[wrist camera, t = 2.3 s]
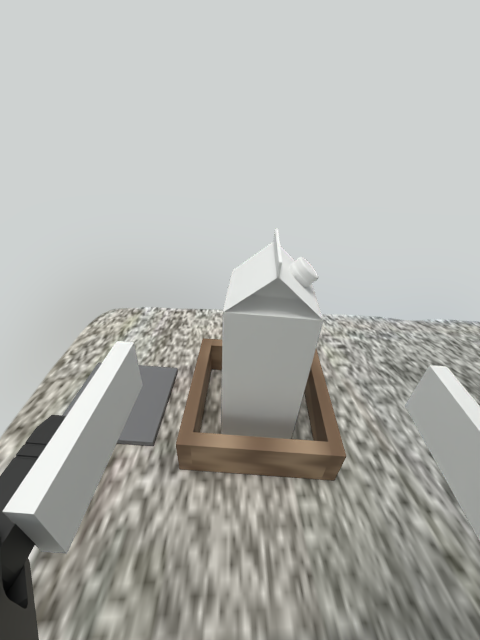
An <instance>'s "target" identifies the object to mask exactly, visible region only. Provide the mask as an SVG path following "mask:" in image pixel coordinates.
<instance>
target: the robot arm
mask: <svg viewBox="0 0 480 640" xmlns="http://www.w3.org/2000/svg"><path fill="white" fill-rule="evenodd" d="M142 386H143V385H142V380H141V375H140V370H139V365H138V360H137V355H136V350H135V345H134V343H133V342H120V341H117V342H116V343H115V345H114V346H113V348H112V349H111V351H110V352H109V354H108V355H107V356H106V358H105V359H104V361H103V362H102V364H101V365H100V367H99V368H98V370H97V371H96V373H95V374H94V376H93V377H92V379H91V380H90V382H89V383H88V385H87V386H86V388H85V389H84V391H83V392H82V394H81V395H80V397H79V398H78V400H77V401H76V403H75V404H74V406H73V407H72V409H71V410H70V412H69V413H68V415H67V416H59V415H51V416H50V417H49V418H48V419H47V420H45V421H44V422H43V423H42V424H40V425H39V426H38V427H37V428H36V429H35V430H34V432H33V433H32V434H31V436H30V437H29V438H28V440H27V441H26V444H25V445H23V446H22V448H21V449H20V450H19V452H18V453H17V454H16V458H13V460H12V461H11V463H10V464H9V465H8V467H7V468H6V469H5V471H4V472H3V473H2V475H1V476H0V640H39V638H38V629H37V621H36V612H35V604H34V595H33V587H32V578H31V570H30V562H29V559H28V556H29V554H30V553H31V551H32V549H33V547H34V545H36V546H37V547H38V548H39V549H40V550H41V552H54V553H67V552H68V550H69V548H70V546H71V543H72V541H73V539H74V537H75V535H76V532H77V530H78V528H79V526H80V523H81V521H82V519H83V517H84V515H85V512H86V510H87V508H88V506H89V503H90V501H91V499H92V497H93V495H94V492H95V490H96V488H97V486H98V483H99V481H100V479H101V477H102V475H103V472H104V470H105V468H106V466H107V463H108V461H109V459H110V457H111V455H112V452H113V450H114V448H115V446H116V443H117V441H118V439H119V437H120V435H121V432H122V430H123V428H124V426H125V423H126V421H127V419H128V417H129V415H130V412H131V410H132V408H133V406H134V403H135V401H136V399H137V397H138V394H139V392H140V390H141V388H142ZM405 407H406V409H407V411H408V413H409V415H410V416H411V418H412V420H413V422H414V424H415V425H416V427H417V429H418V431H419V433H420V434H421V436H422V438H423V440H424V442H425V443H426V445H427V447H428V449H429V451H430V453H431V454H432V456H433V458H434V460H435V462H436V463H437V465H438V467H439V469H440V471H441V472H442V474H443V476H444V478H445V480H446V481H447V483H448V485H449V487H450V489H451V490H452V492H453V494H454V496H455V498H456V499H457V501H458V503H459V505H460V507H461V508H462V510H463V512H464V514H465V516H466V518H467V519H468V521H469V523H470V525H471V527H472V528H473V530H474V532H475V534H476V536H477V537H478V539H479V541H480V406H479V405H478V404H477V402H476V401H475V400H474V399H473V398H472V396H471V395H470V394H469V393H468V392H467V390H466V389H465V388H464V387H463V385H462V384H461V383H460V382H459V381H458V379H457V378H456V377H455V376H454V375H453V373H452V372H451V371H450V370H449V369H448V367H445V366H432V365H429V367H428V369H427V370H426V372H425V373H424V375H423V377H422V378H421V380H420V382H419V383H418V385H417V386H416V388H415V390H414V391H413V393H412V395H411V396H410V398H409V399H408V401H407V403H406V404H405Z"/></svg>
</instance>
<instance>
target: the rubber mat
mask: <svg viewBox="0 0 480 640" xmlns="http://www.w3.org/2000/svg"><path fill="white" fill-rule="evenodd" d="M101 364H102V363H98V364H97V365H96V367H95V368H94V370H93V371H92V373H91V374H90V376H89V377H88V379H87V380H86V382H85V383H84V384H83V386H82V387H81V389H80V390H79V392H78V393H77V395H76V396H75V398H74V399H73V401H72V402H71V404H70V405H69V406H68V408H67V409H66V411H65V412H64V414H63V415H62V416H67V415H68V413H69V412H70V410H71V409H72V407H73V406H74V404H75V403H76V401H77V400H78V398H79V397H80V395H81V394H82V392H83V391H84V389H85V388H86V386H87V385H88V383H89V382H90V380H91V379H92V377H93V376H94V374H95V373H96V371H97V370H98V368H99V367H100V365H101ZM139 370H140V375H141V380H142V385H143V386H142V388H141V390H140V392H139V394H138V397H137V399H136V401H135V403H134V406H133V408H132V410H131V412H130V415H129V417H128V419H127V421H126V423H125V426H124V428H123V430H122V432H121V435H120V437H119V439H118V441H117V443H120V444H134V445H148V446H154V443H155V440H156V437H157V434H158V431H159V427H160V424H161V421H162V418H163V415H164V412H165V409H166V406H167V403H168V400H169V397H170V394H171V391H172V388H173V384H174V381H175V378H176V375H177V372H178V369H177V368H170V367H156V366H141V365H139Z"/></svg>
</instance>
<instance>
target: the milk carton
mask: <svg viewBox="0 0 480 640" xmlns="http://www.w3.org/2000/svg"><path fill="white" fill-rule="evenodd" d="M317 279H318V274H317V273H316V271H315V269H314V268H313V267H312V266H311V265H310V263H309V262H308V261H307V260H305V259H304V258H303V257H299V258H298V259H297V260H296V261H295V260H294V259H293V258H292V257H291V256H290V255H289V254H288V253H287V252H286V251H285V250H284V249H283V248H282V247H281V246H280V241H279V234H278V229H275V234H274V241H273V242H272V243H271V244H269V245H268V246H266V247H265V248H264V249H262V250H261V251H259V252H258V253H256V254H255V255H253V256H252V257H251V258H249V259H248V260H246V261H245V262H244V263H242V264H241V265H240V266H238V267H237V268H235V269H234V270H233V271H232V274H231V278H230V282H229V286H228V291H227V295H226V299H225V304H224V308H223V339H222V406H221V434H226V435H240V436H254V437H268V438H282V439H292V435H293V431H294V428H295V424H296V420H297V416H298V413H299V409H300V405H301V402H302V398H303V394H304V391H305V387H306V383H307V379H308V376H309V372H310V368H311V365H312V361H313V357H314V354H315V350H316V346H317V342H318V339H319V335H320V331H321V327H322V323H323V318H322V314H321V311H320V308H319V305H318V302H317V298H316V296H315V292H314V289H313V285H312V283H313V282H314V281H316V280H317Z"/></svg>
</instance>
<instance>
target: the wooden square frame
mask: <svg viewBox="0 0 480 640" xmlns="http://www.w3.org/2000/svg"><path fill="white" fill-rule="evenodd" d="M211 369H217V370H222V340H218V339H203V340H202V344H201V348H200V352H199V356H198V360H197V363H196V367H195V371H194V375H193V379H192V383H191V387H190V391H189V395H188V399H187V403H186V407H185V410H184V414H183V418H182V422H181V426H180V430H179V434H178V438H177V442H176V449H177V455H178V462H179V468H180V469H184V470H198V471H212V472H226V473H239V474H253V475H267V476H281V477H294V478H308V479H322V480H335V478H336V476H337V474H338V472H339V470H340V468H341V466H342V464H343V462H344V460H345V458H346V454H345V450H344V447H343V443H342V439H341V436H340V432H339V429H338V425H337V421H336V418H335V414H334V411H333V407H332V404H331V400H330V396H329V393H328V389H327V386H326V382H325V378H324V375H323V371H322V368H321V364H320V361H319V357H318V353H317V350H315V354H314V357H313V361H312V365H311V368H310V372H309V376H308V379H307V383H306V387H305V391H304V392H305V397H306V402H307V408H308V413H309V418H310V424H311V429H312V434H313V440H314V441H310V440H296V439H282V438H268V437H254V436H240V435H226V434H212V433H200V429H201V423H202V418H203V413H204V407H205V402H206V396H207V391H208V386H209V380H210V375H211Z"/></svg>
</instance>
